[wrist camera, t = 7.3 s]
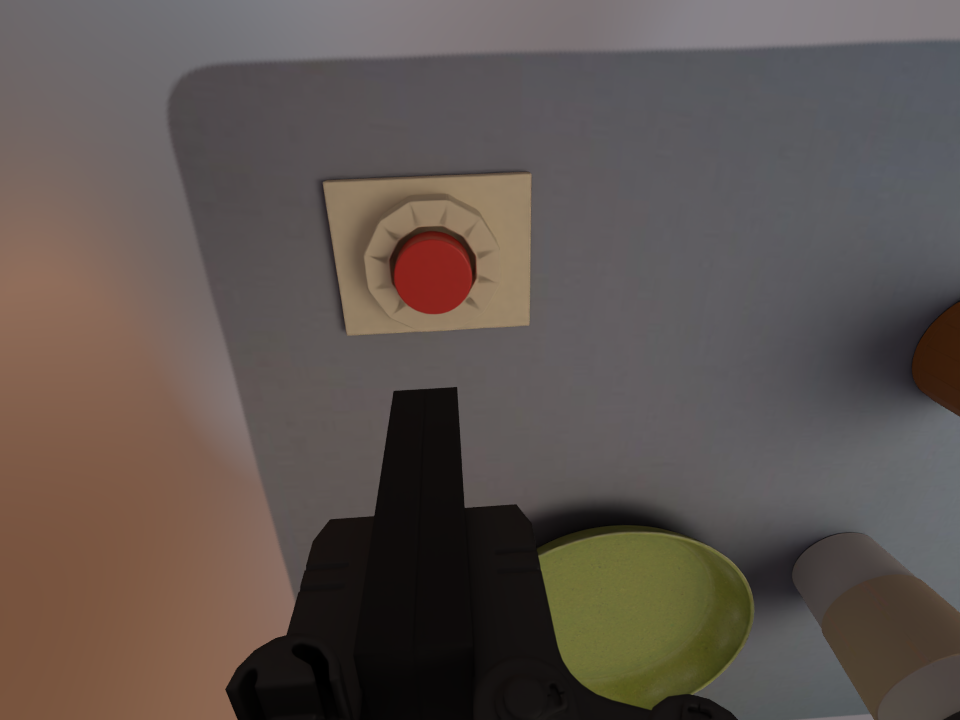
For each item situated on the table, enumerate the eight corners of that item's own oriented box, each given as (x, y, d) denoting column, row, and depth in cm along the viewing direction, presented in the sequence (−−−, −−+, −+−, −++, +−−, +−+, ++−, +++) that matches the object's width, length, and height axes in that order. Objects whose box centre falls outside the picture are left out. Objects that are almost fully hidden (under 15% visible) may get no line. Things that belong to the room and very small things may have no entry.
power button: (468, 228, 25) (470, 237, 23) (471, 300, 27) (473, 313, 25) (392, 232, 25) (389, 241, 23) (400, 304, 26) (397, 317, 25)
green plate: (764, 497, 37) (792, 530, 34) (698, 679, 46) (715, 718, 43) (471, 501, 35) (473, 537, 32) (462, 690, 44) (464, 731, 42)
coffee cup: (809, 620, 43) (974, 854, 30) (756, 568, 40) (915, 804, 27) (912, 562, 41) (1141, 787, 28) (864, 501, 38) (1098, 723, 24)
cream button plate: (529, 171, 26) (537, 178, 24) (527, 321, 30) (534, 339, 27) (324, 179, 25) (313, 187, 23) (348, 331, 29) (341, 350, 27)
